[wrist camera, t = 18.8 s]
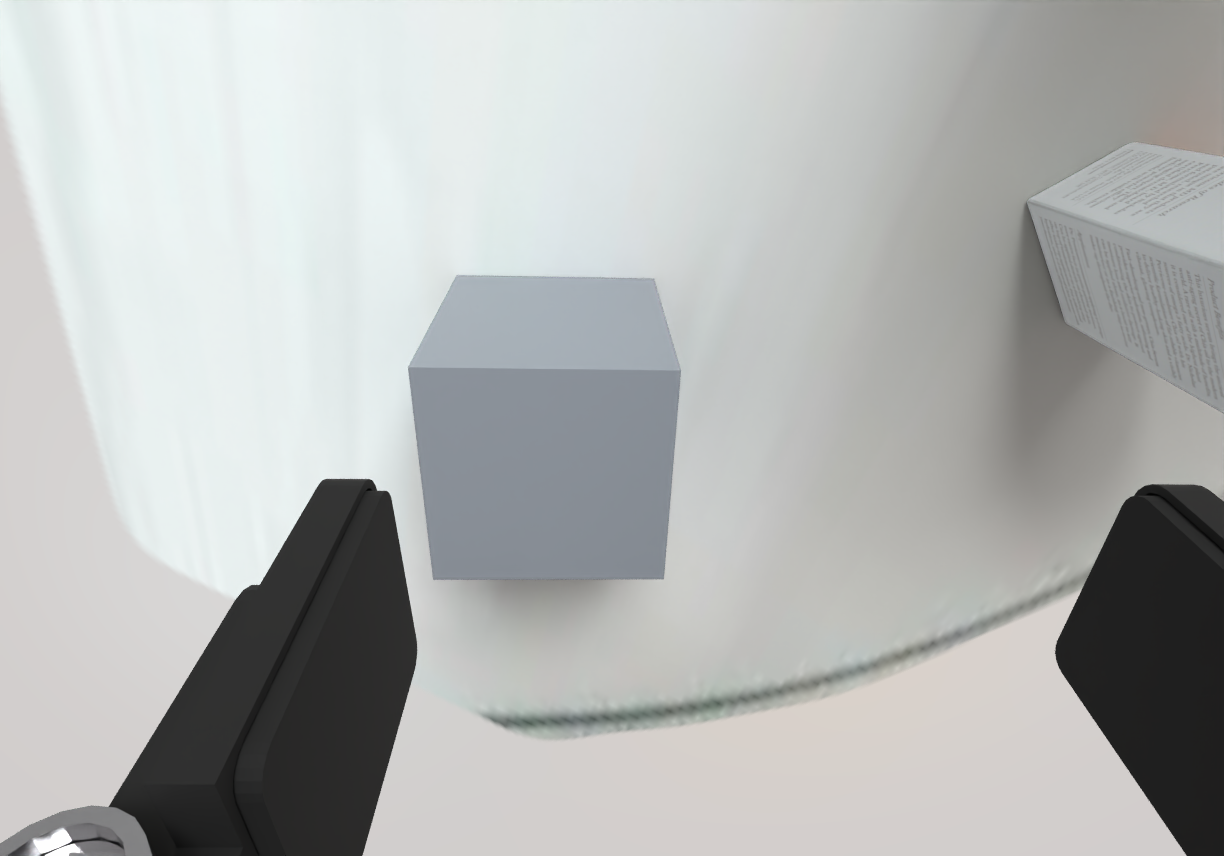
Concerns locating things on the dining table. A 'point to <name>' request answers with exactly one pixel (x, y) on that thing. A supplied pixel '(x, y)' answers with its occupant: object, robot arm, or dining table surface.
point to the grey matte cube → (547, 428)
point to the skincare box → (1143, 260)
